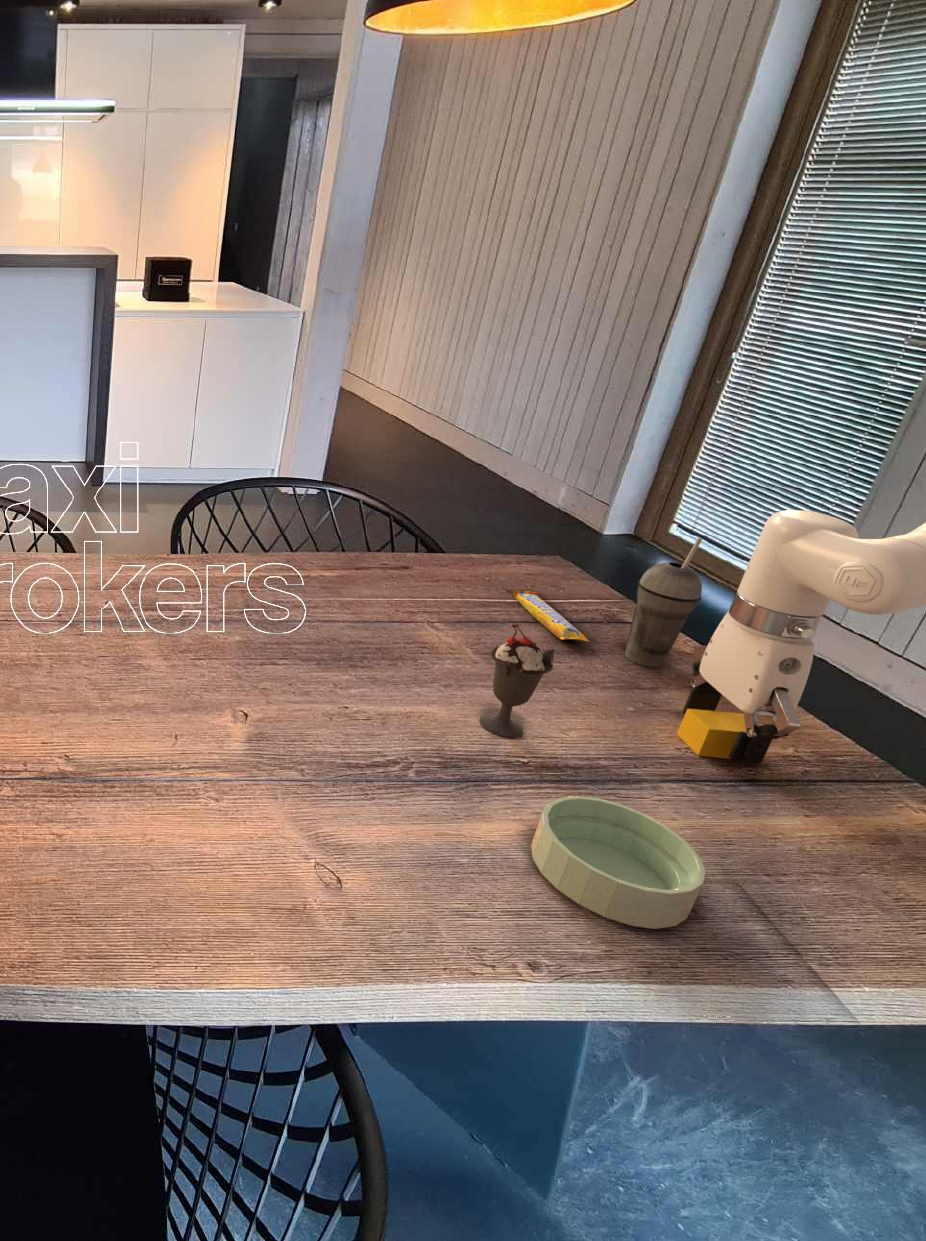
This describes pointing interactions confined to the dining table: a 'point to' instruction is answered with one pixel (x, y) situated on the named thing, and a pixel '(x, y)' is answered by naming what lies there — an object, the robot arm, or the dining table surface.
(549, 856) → the bowl
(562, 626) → the candy bar
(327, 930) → the dining table surface
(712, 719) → the sponge
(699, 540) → the beverage cup
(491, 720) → the sundae
